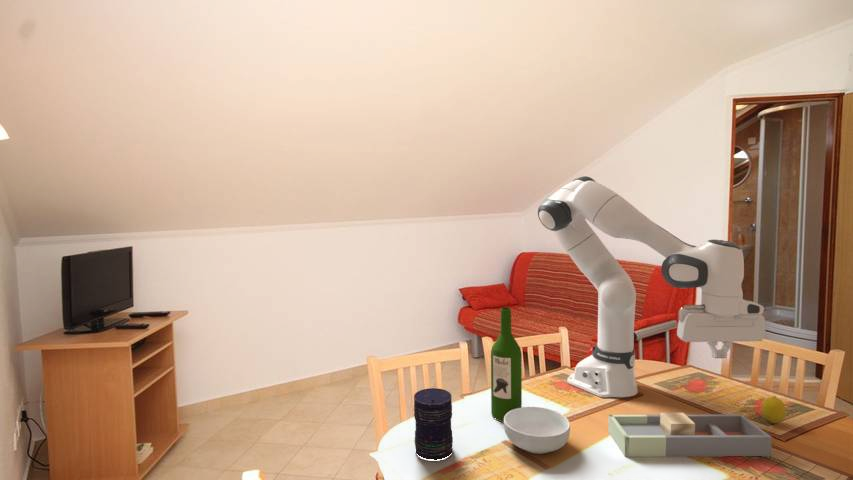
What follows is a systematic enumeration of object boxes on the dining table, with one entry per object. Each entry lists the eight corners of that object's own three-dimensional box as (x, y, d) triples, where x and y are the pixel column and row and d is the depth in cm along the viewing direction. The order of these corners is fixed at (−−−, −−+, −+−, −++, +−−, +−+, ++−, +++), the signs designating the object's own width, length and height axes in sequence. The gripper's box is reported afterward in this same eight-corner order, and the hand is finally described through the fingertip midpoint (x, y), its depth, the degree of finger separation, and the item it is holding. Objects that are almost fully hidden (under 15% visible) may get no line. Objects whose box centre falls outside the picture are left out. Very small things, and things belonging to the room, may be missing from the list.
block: (670, 438, 121) (670, 423, 121) (659, 427, 127) (660, 412, 126) (694, 438, 121) (695, 423, 120) (682, 427, 127) (683, 412, 126)
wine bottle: (488, 419, 140) (486, 311, 136) (495, 406, 148) (494, 303, 144) (518, 424, 136) (518, 313, 133) (524, 410, 144) (524, 305, 141)
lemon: (789, 429, 130) (790, 401, 129) (766, 427, 131) (768, 399, 130) (778, 419, 135) (780, 392, 135) (757, 418, 137) (758, 391, 136)
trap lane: (624, 456, 119) (625, 437, 118) (608, 432, 131) (608, 414, 130) (770, 456, 117) (772, 437, 117) (740, 431, 129) (741, 414, 129)
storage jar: (416, 441, 128) (414, 388, 127) (452, 441, 128) (451, 387, 126) (413, 462, 118) (412, 404, 117) (453, 462, 118) (452, 404, 117)
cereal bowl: (581, 444, 125) (581, 418, 124) (550, 472, 113) (550, 444, 112) (525, 423, 137) (525, 400, 136) (491, 447, 125) (491, 421, 124)
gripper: (685, 308, 117) (683, 362, 119) (770, 307, 116) (768, 361, 118) (673, 302, 123) (671, 353, 125) (754, 301, 123) (751, 353, 124)
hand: (719, 357), depth 121 cm, fingers closed
